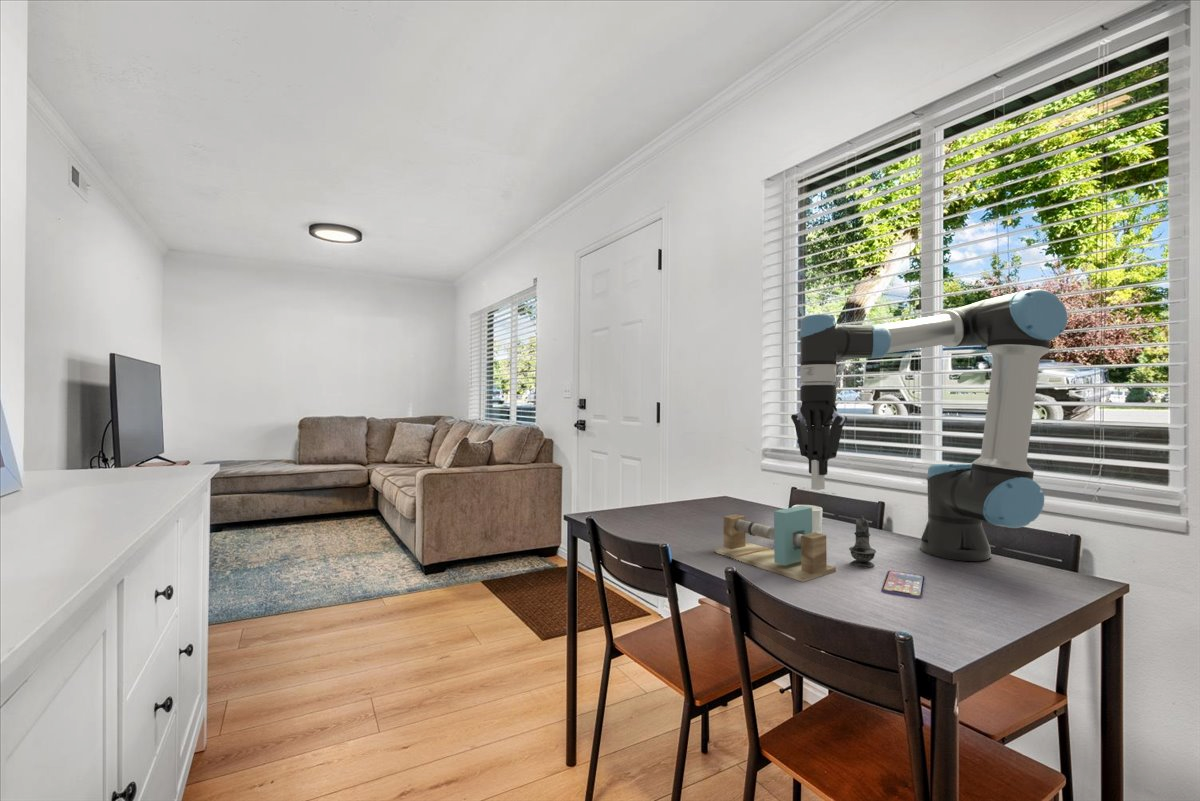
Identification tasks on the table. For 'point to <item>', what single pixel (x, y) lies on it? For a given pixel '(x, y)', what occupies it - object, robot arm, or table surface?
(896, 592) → the smartphone
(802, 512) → the collar
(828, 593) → the table surface
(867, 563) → the black chess piece
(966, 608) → the table surface
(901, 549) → the table surface
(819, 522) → the white cup
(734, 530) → the pipe stand
